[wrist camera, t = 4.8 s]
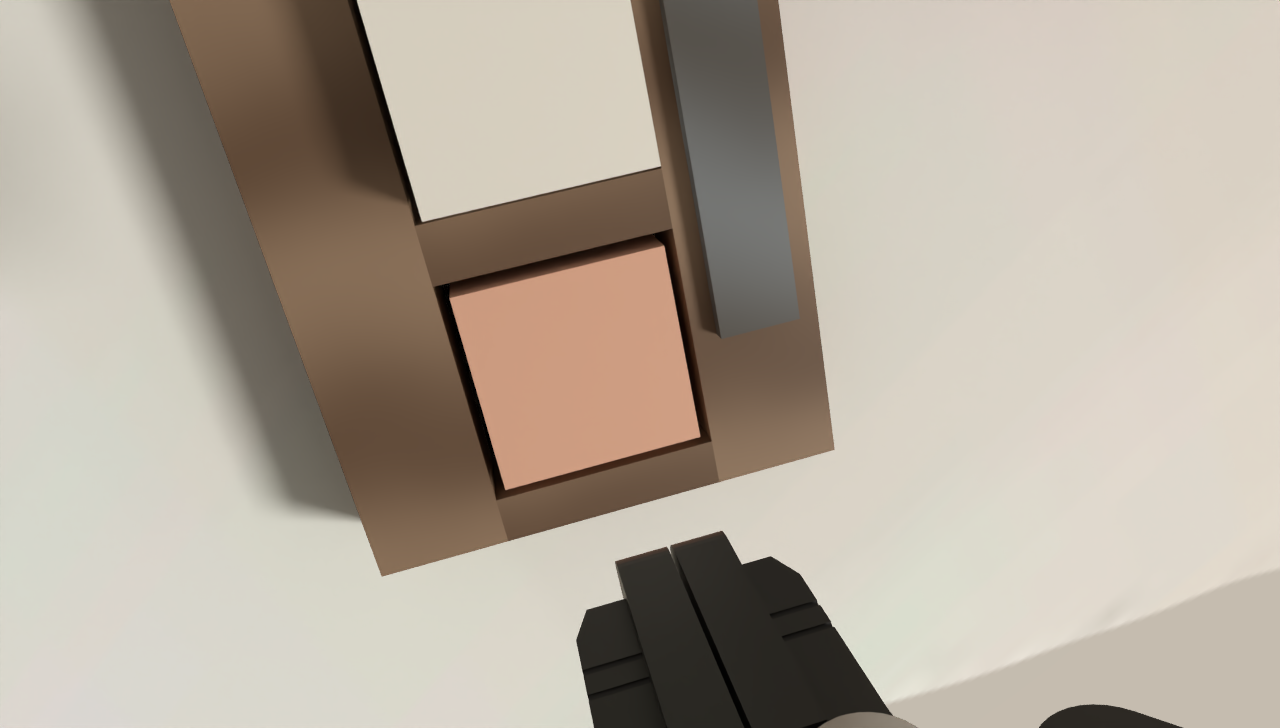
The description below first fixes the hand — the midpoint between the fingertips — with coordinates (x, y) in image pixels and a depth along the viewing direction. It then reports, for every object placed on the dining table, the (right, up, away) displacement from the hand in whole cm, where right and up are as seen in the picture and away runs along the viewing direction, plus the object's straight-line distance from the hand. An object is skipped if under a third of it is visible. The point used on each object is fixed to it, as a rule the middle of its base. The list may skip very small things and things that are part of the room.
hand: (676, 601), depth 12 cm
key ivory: (-3, +10, +7) cm, 13 cm away
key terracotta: (-2, +4, +11) cm, 12 cm away
